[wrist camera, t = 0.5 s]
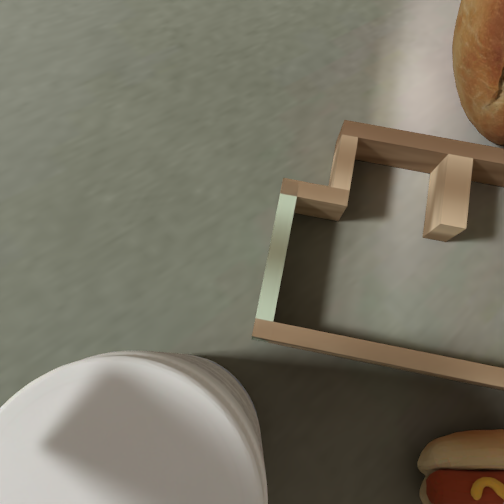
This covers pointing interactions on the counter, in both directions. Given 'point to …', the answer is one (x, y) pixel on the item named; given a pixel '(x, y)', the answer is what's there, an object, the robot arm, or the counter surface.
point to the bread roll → (481, 65)
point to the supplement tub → (132, 434)
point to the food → (464, 468)
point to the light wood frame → (435, 227)
